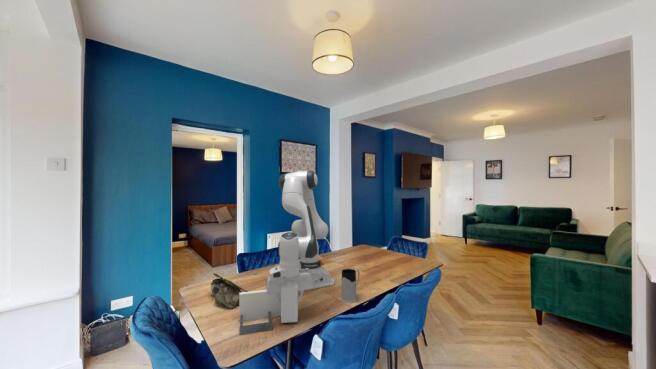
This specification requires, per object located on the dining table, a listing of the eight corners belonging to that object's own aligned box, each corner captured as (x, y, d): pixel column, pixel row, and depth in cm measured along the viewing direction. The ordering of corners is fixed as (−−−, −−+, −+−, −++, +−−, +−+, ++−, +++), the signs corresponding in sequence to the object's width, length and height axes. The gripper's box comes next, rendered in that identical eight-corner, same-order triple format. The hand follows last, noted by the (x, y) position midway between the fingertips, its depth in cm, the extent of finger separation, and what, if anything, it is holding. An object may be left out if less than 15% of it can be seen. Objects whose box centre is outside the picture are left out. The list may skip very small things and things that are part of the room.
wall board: (296, 311, 127) (296, 286, 127) (297, 313, 125) (297, 287, 125) (239, 319, 119) (239, 292, 119) (239, 321, 117) (239, 294, 117)
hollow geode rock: (216, 300, 150) (196, 285, 144) (232, 280, 156) (213, 265, 150) (234, 317, 129) (212, 300, 122) (252, 294, 135) (231, 277, 128)
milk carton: (282, 314, 121) (281, 273, 121) (297, 314, 122) (297, 272, 122) (281, 323, 114) (280, 279, 114) (297, 322, 115) (297, 278, 114)
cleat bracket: (270, 317, 120) (270, 311, 121) (272, 329, 110) (272, 322, 110) (240, 322, 117) (240, 315, 117) (239, 334, 107) (239, 327, 107)
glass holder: (337, 300, 140) (337, 271, 140) (352, 291, 151) (352, 265, 151) (350, 304, 134) (350, 275, 134) (365, 295, 145) (365, 268, 145)
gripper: (310, 265, 124) (310, 295, 124) (265, 270, 118) (265, 301, 118) (313, 269, 118) (314, 300, 118) (266, 274, 112) (267, 307, 112)
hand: (289, 301), depth 118 cm, fingers closed on milk carton, 7 cm apart
